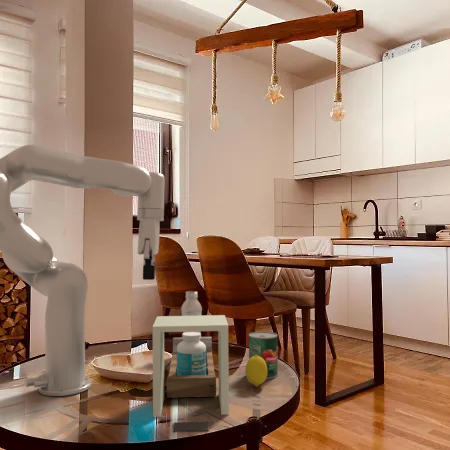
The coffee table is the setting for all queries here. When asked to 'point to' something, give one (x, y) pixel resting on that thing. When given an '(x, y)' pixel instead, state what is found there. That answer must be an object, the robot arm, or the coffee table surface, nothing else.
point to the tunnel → (188, 325)
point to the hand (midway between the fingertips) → (148, 279)
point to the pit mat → (190, 426)
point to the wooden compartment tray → (193, 383)
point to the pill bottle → (191, 355)
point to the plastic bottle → (191, 306)
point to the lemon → (256, 370)
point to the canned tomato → (265, 350)
